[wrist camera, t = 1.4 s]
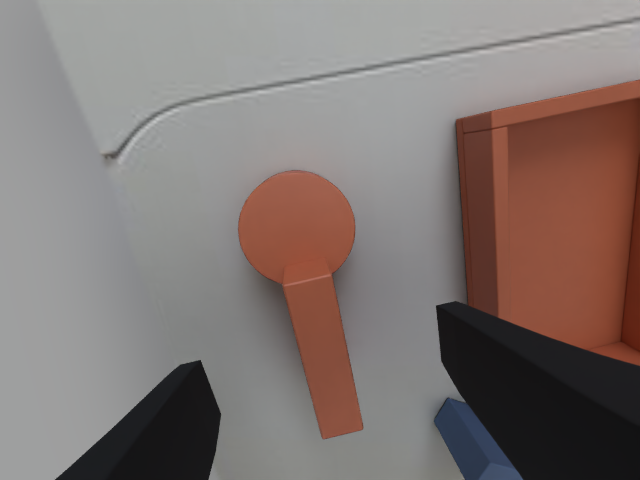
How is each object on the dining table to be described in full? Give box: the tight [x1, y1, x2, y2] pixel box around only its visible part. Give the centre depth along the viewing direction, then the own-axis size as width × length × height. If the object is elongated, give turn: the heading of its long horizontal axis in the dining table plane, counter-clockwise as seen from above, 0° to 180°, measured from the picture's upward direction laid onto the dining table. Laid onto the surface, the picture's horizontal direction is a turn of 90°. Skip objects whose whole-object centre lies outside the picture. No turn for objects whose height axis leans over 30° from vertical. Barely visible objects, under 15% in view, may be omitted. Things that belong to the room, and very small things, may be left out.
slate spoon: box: [434, 398, 523, 480], centre depth 13 cm, size 8×4×3 cm, turn 67°
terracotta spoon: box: [238, 170, 363, 439], centre depth 10 cm, size 8×4×3 cm, turn 11°
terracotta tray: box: [456, 80, 640, 366], centre depth 11 cm, size 11×7×2 cm, turn 12°
